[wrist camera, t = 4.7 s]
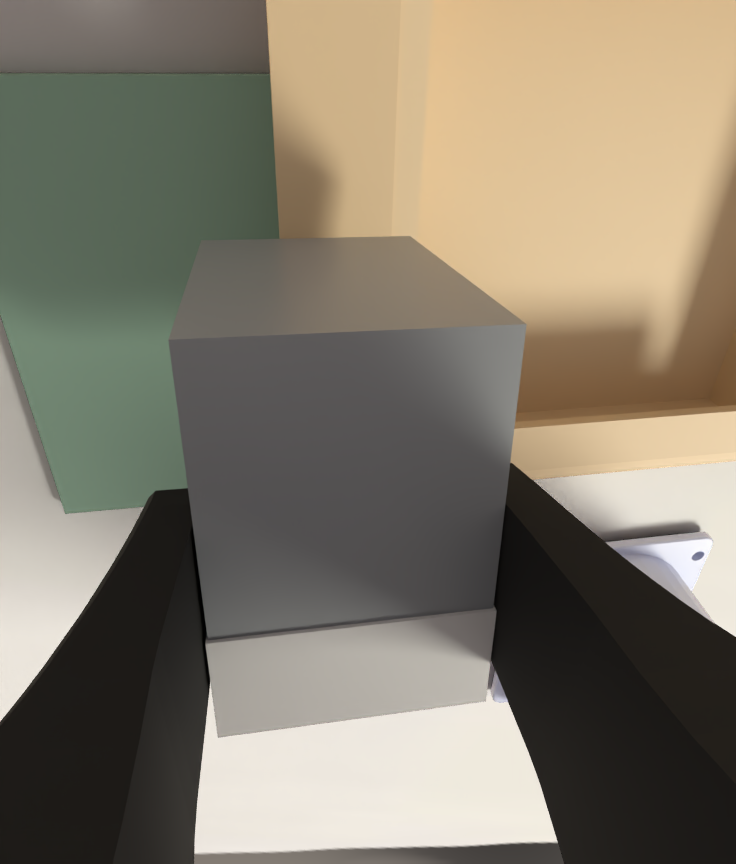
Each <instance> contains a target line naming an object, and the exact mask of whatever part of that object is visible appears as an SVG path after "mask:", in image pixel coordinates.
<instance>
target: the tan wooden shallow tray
mask: <svg viewBox="0 0 736 864" xmlns="http://www.w3.org/2000/svg"><path fill="white" fill-rule="evenodd" d="M266 15H267V32H268V49H269V66H270V83H271V100H272V117H273V135H274V152H275V169H276V186H277V203H278V220H279V237H280V239H292V238H339V237H386V236H411V237H412V238H413V239H415V240H416V241H417V242H419V243H420V244H421V245H423V246H424V247H425V248H427V249H428V250H429V251H431V252H432V253H433V254H435V255H436V256H437V257H438V258H440V259H441V260H442V261H444V262H445V263H446V264H448V265H449V266H450V267H452V268H453V269H454V270H456V271H457V272H458V273H460V274H461V275H462V276H464V277H465V278H466V279H468V280H469V281H470V282H472V283H473V284H474V285H476V286H477V287H478V288H480V289H481V290H482V291H483V292H485V293H486V294H487V295H489V296H490V297H491V298H493V299H494V300H495V301H497V302H498V303H499V304H501V305H502V306H503V307H505V308H506V309H507V310H509V311H510V312H511V313H513V314H514V315H515V316H517V317H518V318H519V319H521V320H522V321H523V322H525V323H526V324H527V325H526V334H525V342H524V351H523V359H522V368H521V376H520V385H519V393H518V402H517V410H516V419H515V427H514V436H513V444H512V453H511V461H510V463H513V464H514V465H515V466H516V467H517V468H519V469H520V470H521V471H522V472H523V473H525V474H526V475H527V476H528V477H529V478H530V479H532V480H534V479H545V478H555V477H566V476H577V475H588V474H599V473H610V472H621V471H632V470H643V469H654V468H665V467H676V466H687V465H697V464H708V463H719V462H730V461H736V0H266Z"/></svg>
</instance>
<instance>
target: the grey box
mask: <svg viewBox="0 0 736 864" xmlns="http://www.w3.org/2000/svg"><path fill="white" fill-rule="evenodd" d="M526 325H527V324H526V323H525V322H523V321H522V320H521V319H519V318H518V317H517V316H515V315H514V314H513V313H511V312H510V311H509V310H507V309H506V308H505V307H503V306H502V305H501V304H499V303H498V302H497V301H495V300H494V299H493V298H491V297H490V296H489V295H487V294H486V293H485V292H483V291H482V290H481V289H480V288H478V287H477V286H476V285H474V284H473V283H472V282H470V281H469V280H468V279H466V278H465V277H464V276H462V275H461V274H460V273H458V272H457V271H456V270H454V269H453V268H452V267H450V266H449V265H448V264H446V263H445V262H444V261H442V260H441V259H440V258H438V257H437V256H436V255H435V254H433V253H432V252H431V251H429V250H428V249H427V248H425V247H424V246H423V245H421V244H420V243H419V242H417V241H416V240H415V239H413V238H412V237H411V236H386V237H339V238H292V239H246V240H201V243H200V246H199V249H198V252H197V255H196V258H195V261H194V264H193V267H192V270H191V273H190V276H189V279H188V282H187V285H186V288H185V291H184V294H183V297H182V300H181V303H180V306H179V309H178V312H177V315H176V318H175V321H174V324H173V327H172V330H171V333H170V336H169V339H168V342H169V349H170V357H171V364H172V372H173V379H174V387H175V395H176V402H177V410H178V417H179V425H180V432H181V440H182V448H183V455H184V463H185V470H186V478H187V486H188V493H189V501H190V508H191V516H192V523H193V531H194V539H195V546H196V554H197V561H198V569H199V577H200V584H201V592H202V599H203V607H204V614H205V622H206V643H205V645H206V652H207V659H208V667H209V674H210V682H211V689H212V697H213V704H214V711H215V719H216V726H217V734H218V738H219V737H226V736H233V735H241V734H248V733H256V732H263V731H270V730H278V729H285V728H292V727H300V726H307V725H315V724H322V723H329V722H337V721H344V720H351V719H359V718H366V717H373V716H381V715H388V714H396V713H403V712H410V711H418V710H425V709H432V708H440V707H447V706H455V705H462V704H469V703H477V702H484V701H486V695H487V687H488V678H489V670H490V662H491V654H492V645H493V637H494V629H495V620H496V612H497V610H496V609H495V607H494V597H495V589H496V580H497V572H498V563H499V555H500V546H501V538H502V529H503V521H504V512H505V504H506V495H507V487H508V478H509V470H510V461H511V453H512V444H513V436H514V427H515V419H516V410H517V402H518V393H519V385H520V376H521V368H522V359H523V351H524V342H525V334H526Z"/></svg>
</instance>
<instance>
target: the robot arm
mask: <svg viewBox="0 0 736 864" xmlns="http://www.w3.org/2000/svg"><path fill="white" fill-rule="evenodd" d="M712 545H713V540H712V538H711V537H710V536H709V535H708V534H707V533H706V532H694V533H685V534H676V535H666V536H657V537H648V538H638V539H629V540H620V541H611V542H604V541H603V540H602V539H601V538H599V537H598V536H597V535H596V534H594V533H593V532H592V531H591V530H590V529H588V528H587V527H586V526H585V525H584V524H583V523H581V522H580V521H579V520H578V519H577V518H575V517H574V516H573V515H572V514H571V513H570V512H569V511H567V510H566V509H565V508H564V507H563V506H562V505H560V504H559V503H558V502H557V501H556V500H555V499H553V498H552V497H551V496H550V495H549V494H548V493H547V492H545V491H544V490H543V489H542V488H541V487H540V486H539V485H537V484H536V483H535V482H534V481H533V480H532V479H530V478H529V477H528V476H527V475H526V474H525V473H523V472H522V471H521V470H520V469H519V468H517V467H516V466H515V465H514V464H513V463H510V470H509V478H508V487H507V495H506V504H505V512H504V521H503V529H502V538H501V546H500V555H499V563H498V572H497V580H496V589H495V597H494V607H495V609H496V610H497V612H496V620H495V629H494V637H493V645H492V654H491V661H492V663H493V666H494V668H495V674H494V678H493V683H492V688H491V695H492V698H493V700H494V701H495V702H499V703H501V702H508V703H509V705H510V707H511V710H512V712H513V715H514V717H515V720H516V722H517V725H518V727H519V729H520V732H521V734H522V737H523V739H524V742H525V744H526V747H527V749H528V751H529V754H530V757H531V760H532V762H533V765H534V768H535V771H536V773H537V776H538V779H539V782H540V785H541V788H542V791H543V794H544V798H545V801H546V804H547V808H548V811H549V814H550V818H551V821H552V824H553V828H554V831H555V834H556V837H557V841H558V844H559V847H560V850H561V854H562V858H563V861H564V864H736V637H735V636H733V635H732V634H730V633H729V632H727V631H725V630H724V629H722V628H721V627H719V626H718V625H716V624H715V623H714V621H713V620H712V619H711V617H710V616H709V615H708V613H707V612H706V611H705V609H704V608H703V606H702V605H701V604H700V602H699V601H698V600H697V598H696V597H695V596H694V594H693V593H692V590H693V588H694V586H695V584H696V581H697V579H698V577H699V575H700V572H701V570H702V568H703V566H704V563H705V561H706V559H707V557H708V554H709V552H710V550H711V548H712ZM205 643H206V622H205V614H204V607H203V599H202V592H201V584H200V577H199V569H198V561H197V554H196V546H195V539H194V531H193V523H192V516H191V508H190V501H189V493H188V488H183V489H170V490H157V491H155V492H154V493H153V494H152V495H151V496H150V497H149V498H148V500H147V502H146V504H145V506H144V508H143V510H142V512H141V514H140V516H139V518H138V520H137V522H136V524H135V526H134V527H133V529H132V531H131V533H130V535H129V537H128V538H127V540H126V542H125V544H124V545H123V547H122V549H121V551H120V552H119V554H118V556H117V557H116V559H115V561H114V563H113V564H112V566H111V567H110V569H109V571H108V572H107V574H106V575H105V577H104V579H103V580H102V582H101V583H100V585H99V586H98V588H97V590H96V591H95V593H94V594H93V596H92V598H91V599H90V601H89V602H88V604H87V605H86V607H85V608H84V610H83V611H82V613H81V614H80V616H79V617H78V619H77V620H76V622H75V623H74V624H73V626H72V627H71V629H70V630H69V632H68V633H67V634H66V636H65V637H64V639H63V640H62V641H61V643H60V644H59V646H58V647H57V648H56V650H55V651H54V653H53V654H52V655H51V657H50V658H49V660H48V661H47V662H46V664H45V665H44V667H43V668H42V669H41V671H40V672H39V673H38V675H37V676H36V677H35V679H34V680H33V681H32V682H31V684H30V685H29V686H28V688H27V689H26V690H25V692H24V693H23V694H22V695H21V697H20V698H19V699H18V700H17V702H16V703H15V704H14V705H13V707H12V708H11V709H10V710H9V712H8V713H7V714H6V715H5V717H4V718H3V719H2V720H1V721H0V864H194V838H195V823H196V809H197V797H198V788H199V779H200V770H201V761H202V752H203V743H204V734H205V725H206V716H207V707H208V697H209V688H210V674H209V667H208V659H207V652H206V645H205Z"/></svg>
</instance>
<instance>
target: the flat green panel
mask: <svg viewBox="0 0 736 864" xmlns="http://www.w3.org/2000/svg"><path fill="white" fill-rule="evenodd" d="M246 239H280V237H279V220H278V203H277V186H276V169H275V152H274V135H273V117H272V100H271V83H270V74H172V73H0V316H1V319H2V322H3V325H4V328H5V331H6V334H7V337H8V340H9V343H10V346H11V349H12V353H13V356H14V359H15V362H16V365H17V368H18V371H19V374H20V377H21V380H22V383H23V386H24V389H25V392H26V395H27V398H28V401H29V404H30V407H31V410H32V414H33V417H34V420H35V423H36V426H37V429H38V432H39V435H40V438H41V441H42V444H43V447H44V450H45V453H46V456H47V459H48V462H49V465H50V468H51V471H52V475H53V478H54V481H55V484H56V487H57V490H58V493H59V496H60V499H61V502H62V505H63V508H64V511H65V514H68V513H79V512H91V511H102V510H113V509H124V508H135V507H144V506H145V504H146V502H147V500H148V498H149V497H150V496H151V495H152V494H153V493H154V492H155V491H157V490H170V489H183V488H188V486H187V478H186V470H185V463H184V455H183V448H182V440H181V432H180V425H179V417H178V410H177V402H176V395H175V387H174V379H173V372H172V364H171V357H170V349H169V342H168V339H169V336H170V333H171V330H172V327H173V324H174V321H175V318H176V315H177V312H178V309H179V306H180V303H181V300H182V297H183V294H184V291H185V288H186V285H187V282H188V279H189V276H190V273H191V270H192V267H193V264H194V261H195V258H196V255H197V252H198V249H199V246H200V243H201V240H246Z"/></svg>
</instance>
